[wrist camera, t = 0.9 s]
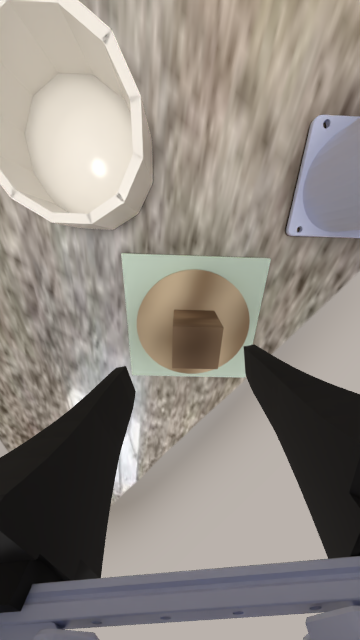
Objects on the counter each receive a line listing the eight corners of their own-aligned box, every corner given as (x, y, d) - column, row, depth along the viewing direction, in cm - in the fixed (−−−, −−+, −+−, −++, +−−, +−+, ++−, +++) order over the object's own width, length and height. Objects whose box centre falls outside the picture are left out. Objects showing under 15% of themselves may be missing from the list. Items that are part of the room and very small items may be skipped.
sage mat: (267, 258, 17) (270, 258, 17) (243, 374, 23) (245, 377, 22) (123, 253, 17) (121, 253, 17) (133, 371, 22) (132, 375, 22)
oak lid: (255, 271, 17) (283, 280, 13) (237, 369, 22) (252, 402, 17) (135, 267, 17) (118, 275, 12) (141, 367, 21) (131, 400, 17)
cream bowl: (150, 72, 13) (136, -13, 8) (154, 231, 16) (145, 226, 12) (6, 65, 12) (-81, -26, 8) (43, 227, 16) (-3, 220, 12)
